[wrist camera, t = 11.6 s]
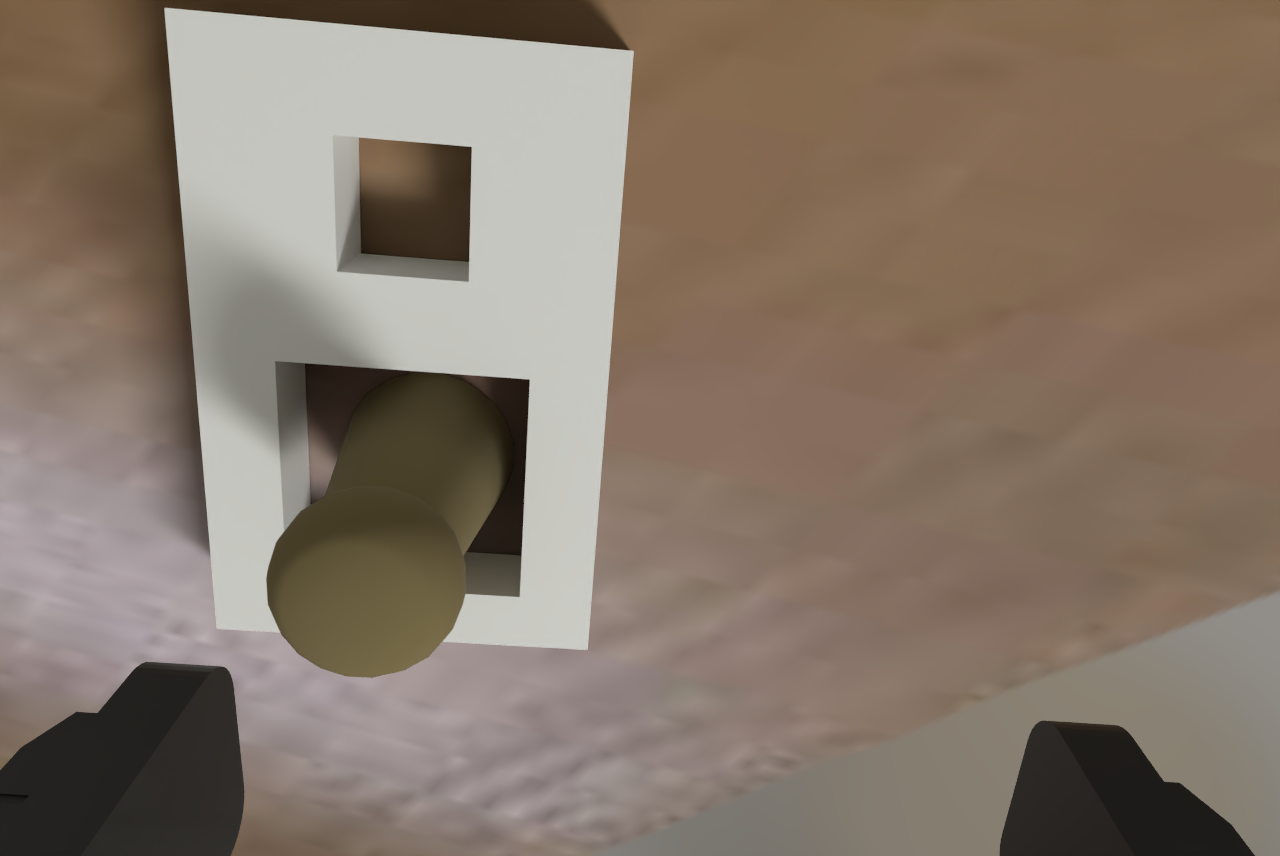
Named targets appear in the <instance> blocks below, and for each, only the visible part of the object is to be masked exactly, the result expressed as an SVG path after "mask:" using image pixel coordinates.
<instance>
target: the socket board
mask: <svg viewBox="0 0 1280 856" xmlns="http://www.w3.org/2000/svg"><path fill="white" fill-rule="evenodd" d="M164 10H165V22H166V34H167V46H168V58H169V70H170V81H171V93H172V105H173V117H174V129H175V141H176V152H177V164H178V176H179V188H180V200H181V212H182V223H183V235H184V247H185V259H186V271H187V283H188V294H189V306H190V318H191V330H192V342H193V354H194V366H195V377H196V389H197V401H198V413H199V425H200V437H201V448H202V460H203V472H204V484H205V496H206V508H207V519H208V531H209V543H210V555H211V567H212V579H213V591H214V602H215V614H216V626H217V629H227V630H245V631H263V632H280V631H279V629H278V626H277V624H276V622H275V620H274V617H273V615H272V613H271V611H270V608H269V606H268V599H267V584H266V577H267V571H268V566H269V563H270V560H271V557H272V554H273V550H274V547H275V544H276V542H277V540H278V539H279V538H280V536H281V535H282V534H283V532H284V531H285V530H286V528H287V527H288V526H289V525H290V524H291V522H292V521H293V520H294V519H295V517H296V516H297V515H298V514H299V512H300V511H301V510H303V509H305V508H306V507H308V506H310V505H311V498H310V474H309V450H308V426H307V402H306V377H305V363H309V364H323V365H336V366H350V367H364V368H378V369H392V370H406V371H419V372H433V373H447V374H461V375H475V376H489V377H502V378H516V379H530V387H529V408H528V430H527V451H526V473H525V494H524V516H523V537H522V555H507V554H491V553H475V552H466V553H465V554H464V556H463V557H464V561H465V565H466V594H465V598H464V602H463V605H462V608H461V610H460V613H459V615H458V618H457V620H456V623H455V625H454V628H453V630H452V631H451V632H450V633H449V634H448V636H447V637H446V638H445V639H444V640H443V641H442V642H457V643H475V644H493V645H510V646H528V647H546V648H563V649H581V650H588V637H589V624H590V611H591V598H592V585H593V573H594V560H595V547H596V534H597V521H598V508H599V495H600V482H601V469H602V456H603V443H604V430H605V417H606V404H607V391H608V378H609V365H610V352H611V339H612V326H613V313H614V300H615V287H616V274H617V261H618V248H619V235H620V223H621V210H622V197H623V184H624V171H625V158H626V145H627V132H628V119H629V106H630V93H631V80H632V67H633V54H634V51H629V50H618V49H607V48H596V47H585V46H574V45H564V44H553V43H542V42H531V41H520V40H509V39H498V38H488V37H477V36H466V35H455V34H444V33H433V32H423V31H412V30H401V29H390V28H379V27H368V26H358V25H347V24H336V23H325V22H314V21H303V20H292V19H282V18H271V17H260V16H249V15H238V14H227V13H217V12H206V11H195V10H184V9H173V8H164ZM359 137H362V138H374V139H385V140H397V141H409V142H420V143H432V144H444V145H455V146H467V147H472V158H471V204H470V250H469V262H463V261H450V260H437V259H425V258H412V257H399V256H387V255H374V254H361V227H360V174H359ZM280 633H281V632H280Z"/></svg>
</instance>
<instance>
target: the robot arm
mask: <svg viewBox="0 0 1280 856" xmlns="http://www.w3.org/2000/svg"><path fill="white" fill-rule="evenodd" d="M243 806H244V782H243V772H242V763H241V753H240V744H239V734H238V724H237V715H236V705H235V696H234V687H233V681H232V678H231V675H230V673H229V671H228V670H227V669H226V668H225V667H221V666H205V665H189V664H173V663H157V662H145V663H142V664H140V665H139V666H138V667H136V668H135V669H134V670H133V671H132V672H131V674H130V675H129V676H128V677H127V678H126V680H125V681H124V682H123V683H122V684H121V686H120V687H119V688H118V689H117V691H116V692H115V693H114V694H113V695H112V697H111V698H110V699H109V700H108V701H107V703H106V704H105V705H104V706H103V707H102V709H101V710H100V711H99V712H98V713H85V712H76V713H74V714H73V715H71V716H69V717H68V718H66V719H65V720H63V721H62V722H60V723H59V724H57V725H55V726H54V727H52V728H51V729H49V730H48V731H46V732H45V733H43V734H42V735H40V736H38V737H37V738H35V739H34V740H32V741H31V742H29V743H28V744H26V745H24V746H23V747H21V748H20V749H19V750H18V752H17V753H16V754H15V755H14V756H13V757H12V758H11V759H10V760H9V762H8V763H7V764H6V765H5V766H4V767H3V768H2V769H1V770H0V856H231V853H232V851H233V848H234V846H235V843H236V840H237V837H238V833H239V829H240V825H241V820H242V814H243ZM1000 856H1255V855H1254V854H1253V853H1252V851H1251V850H1250V849H1249V847H1248V846H1247V845H1246V844H1245V842H1244V841H1243V839H1242V838H1241V837H1240V835H1239V834H1238V833H1237V832H1236V830H1235V829H1234V828H1233V826H1232V825H1231V824H1230V823H1229V822H1227V821H1226V820H1225V819H1224V818H1222V817H1221V816H1220V815H1219V814H1217V813H1216V812H1215V811H1214V810H1212V809H1211V808H1210V807H1209V806H1208V805H1206V804H1205V803H1204V802H1203V801H1201V800H1200V799H1199V798H1198V797H1196V796H1195V795H1194V794H1193V793H1191V792H1190V791H1189V790H1188V789H1186V788H1185V787H1184V786H1183V785H1182V784H1180V783H1173V782H1164V781H1163V780H1162V778H1161V777H1160V776H1159V774H1158V773H1157V771H1156V770H1155V768H1154V767H1153V766H1152V764H1151V763H1150V761H1149V760H1148V759H1147V758H1146V756H1145V755H1144V753H1143V752H1142V750H1141V749H1140V747H1139V746H1138V745H1137V743H1136V742H1135V740H1134V739H1133V737H1132V736H1131V735H1130V734H1129V733H1128V732H1127V731H1126V730H1125V729H1124V728H1122V727H1120V726H1116V725H1104V724H1087V723H1072V722H1056V721H1041V722H1039V723H1037V724H1036V725H1035V726H1034V728H1033V729H1032V731H1031V733H1030V736H1029V739H1028V742H1027V745H1026V749H1025V753H1024V757H1023V760H1022V764H1021V768H1020V771H1019V775H1018V778H1017V782H1016V786H1015V790H1014V793H1013V797H1012V800H1011V804H1010V808H1009V811H1008V815H1007V819H1006V822H1005V826H1004V830H1003V833H1002V838H1001V844H1000Z"/></svg>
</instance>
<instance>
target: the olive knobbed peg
mask: <svg viewBox="0 0 1280 856" xmlns="http://www.w3.org/2000/svg"><path fill="white" fill-rule="evenodd" d="M512 469H513V442H512V438H511V435H510V432H509V429H508V425H507V422H506V420H505V419H504V417H503V416H502V414H501V413H500V412H499V410H498V409H497V407H496V406H495V405H494V403H493V402H492V400H491V399H489V398H488V397H487V396H485V395H484V394H483V393H481V392H480V391H479V390H478V389H476V388H475V387H474V386H472V385H471V384H470V383H467V382H464V381H462V380H459V379H456V378H454V377H451V376H448V375H446V374H438V373H424V372H415V373H411V374H406V375H402V376H398V377H394V378H391V379H389V380H387V381H386V382H384V383H382V384H381V385H379V386H378V387H376V388H374V389H373V390H371V391H370V392H369V393H368V394H367V395H366V396H365V398H364V399H363V400H362V401H361V403H360V404H359V405H358V406H357V408H356V409H355V410H354V412H353V415H352V418H351V421H350V424H349V427H348V430H347V433H346V436H345V439H344V442H343V444H342V447H341V450H340V453H339V456H338V459H337V462H336V465H335V468H334V471H333V474H332V477H331V480H330V483H329V486H328V489H327V492H326V494H325V497H323V498H321V499H320V500H318V501H316V502H315V503H313V504H311V505H310V506H308V507H306V508H305V509H303V510H301V511H300V512H299V514H298V515H297V516H296V517H295V519H294V520H293V521H292V522H291V524H290V525H289V526H288V527H287V528H286V530H285V531H284V532H283V534H282V535H281V536H280V538H279V539H278V540H277V542H276V544H275V547H274V550H273V554H272V557H271V560H270V563H269V566H268V571H267V577H266V584H267V599H268V606H269V608H270V611H271V613H272V615H273V617H274V620H275V622H276V624H277V626H278V629H279V631H280V632H281V634H282V636H283V637H284V638H285V639H286V640H287V641H288V643H289V644H290V645H291V646H292V647H293V648H294V649H295V651H296V652H297V653H298V654H299V655H301V656H302V657H304V658H306V659H307V660H309V661H310V662H312V663H313V664H315V665H316V666H318V667H320V668H322V669H325V670H328V671H331V672H334V673H337V674H341V675H344V676H352V677H371V678H372V677H377V676H381V675H386V674H390V673H395V672H399V671H402V670H406V669H407V668H409V667H411V666H413V665H415V664H416V663H418V662H420V661H422V660H424V659H425V658H427V657H429V656H430V654H431V653H432V652H433V651H434V650H435V649H436V648H437V647H438V646H439V645H440V643H441V642H442V641H443V640H444V639H445V638H446V637H447V636H448V634H449V633H450V632H451V631H452V630H453V628H454V625H455V623H456V620H457V618H458V615H459V613H460V610H461V608H462V605H463V602H464V598H465V594H466V565H465V561H464V557H463V556H464V554H465V553H466V551H467V550H468V548H469V546H470V545H471V543H472V541H473V540H474V538H475V537H476V535H477V533H478V532H479V530H480V529H481V527H482V525H483V524H484V522H485V520H486V519H487V517H488V516H489V514H490V512H491V511H492V509H493V507H494V506H495V504H496V503H497V501H498V499H499V498H500V496H501V494H502V493H503V491H504V489H505V487H506V484H507V482H508V479H509V477H510V474H511V472H512Z"/></svg>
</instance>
